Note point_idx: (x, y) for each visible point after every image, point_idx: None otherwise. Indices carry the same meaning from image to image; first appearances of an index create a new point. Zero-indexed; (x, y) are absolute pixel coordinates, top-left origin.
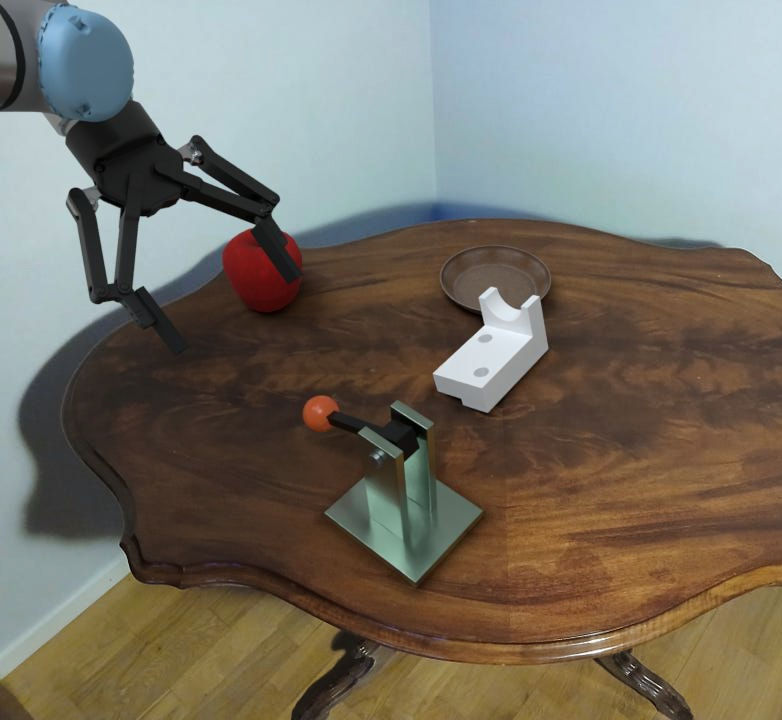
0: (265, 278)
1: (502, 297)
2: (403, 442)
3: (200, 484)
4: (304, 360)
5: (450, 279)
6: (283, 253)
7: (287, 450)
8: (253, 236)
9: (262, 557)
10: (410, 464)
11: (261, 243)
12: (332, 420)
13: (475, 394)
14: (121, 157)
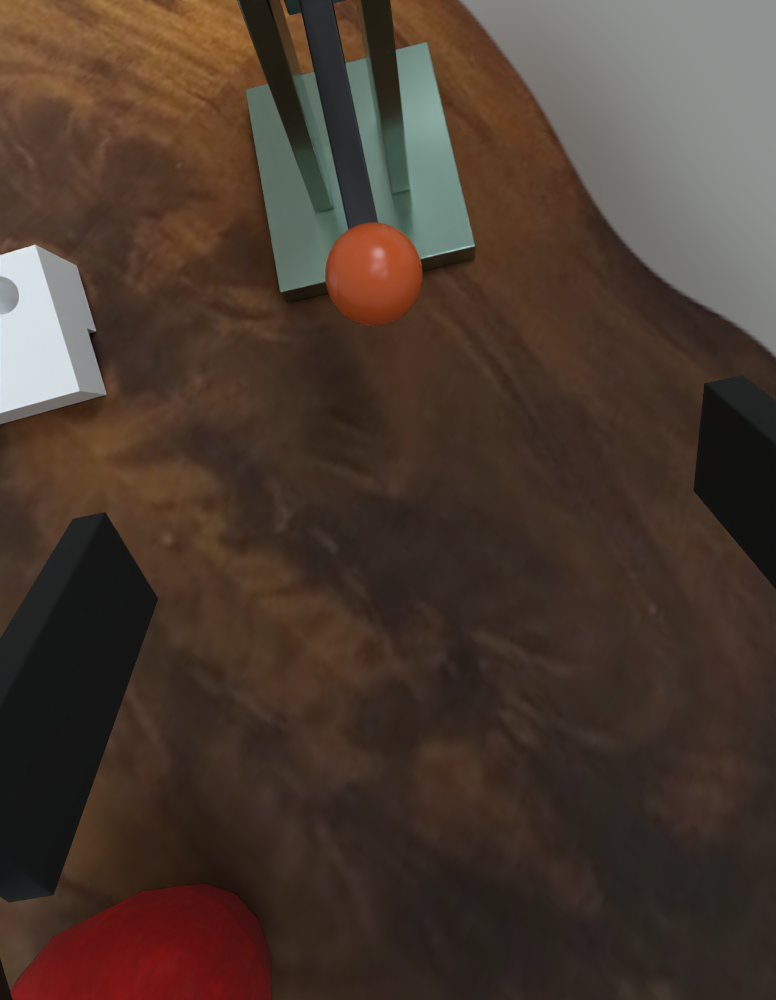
0: (173, 944)
1: None
2: None
3: (641, 485)
4: (266, 677)
5: None
6: (43, 604)
7: (446, 451)
8: (67, 853)
9: (612, 256)
10: (298, 78)
11: (73, 773)
12: (372, 197)
13: (58, 276)
14: None
